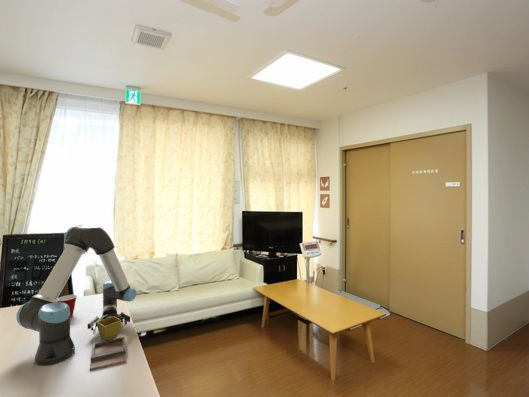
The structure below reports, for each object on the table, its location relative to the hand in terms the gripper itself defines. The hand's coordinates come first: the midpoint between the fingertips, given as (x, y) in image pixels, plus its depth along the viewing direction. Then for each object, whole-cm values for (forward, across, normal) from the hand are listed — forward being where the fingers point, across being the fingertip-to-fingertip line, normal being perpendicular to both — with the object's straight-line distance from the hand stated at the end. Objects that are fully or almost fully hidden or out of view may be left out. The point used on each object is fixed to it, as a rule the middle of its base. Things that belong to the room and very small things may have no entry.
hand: (109, 328), depth 152 cm
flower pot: (-3, 0, -6) cm, 7 cm away
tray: (+15, 0, -6) cm, 16 cm away
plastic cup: (-43, +23, -6) cm, 50 cm away
